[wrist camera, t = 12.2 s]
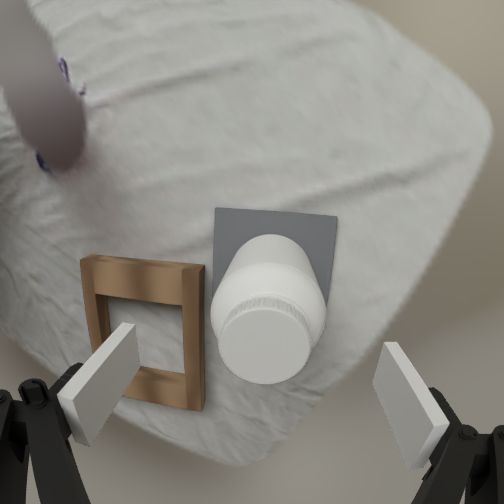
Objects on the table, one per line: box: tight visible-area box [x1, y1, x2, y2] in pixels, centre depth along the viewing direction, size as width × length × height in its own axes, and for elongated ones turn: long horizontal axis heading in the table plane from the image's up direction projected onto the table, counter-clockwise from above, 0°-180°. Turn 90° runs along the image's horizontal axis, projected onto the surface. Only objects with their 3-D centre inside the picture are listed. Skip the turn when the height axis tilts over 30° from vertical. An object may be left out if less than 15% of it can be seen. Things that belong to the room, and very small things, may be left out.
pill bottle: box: [211, 234, 326, 384], centre depth 24 cm, size 8×8×15 cm
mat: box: [212, 208, 337, 306], centre depth 32 cm, size 12×12×1 cm
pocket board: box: [80, 254, 205, 412], centre depth 34 cm, size 14×18×2 cm
